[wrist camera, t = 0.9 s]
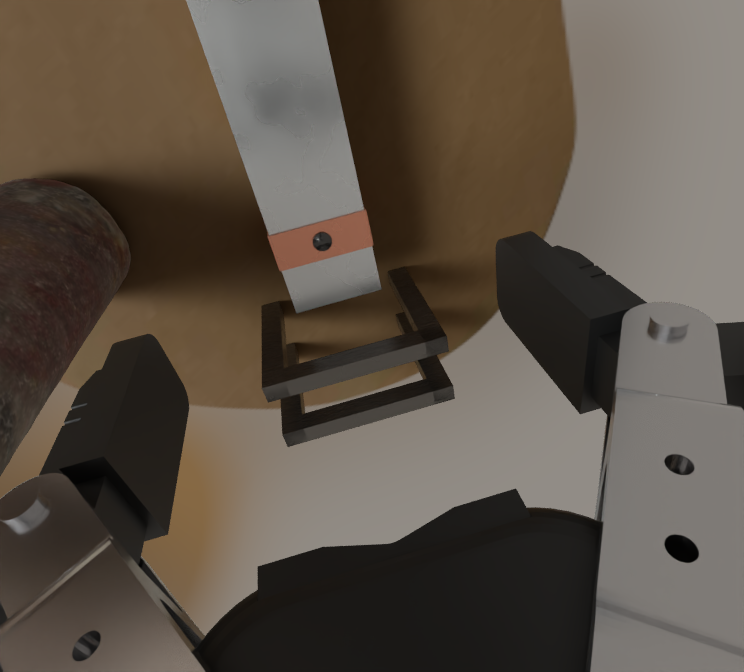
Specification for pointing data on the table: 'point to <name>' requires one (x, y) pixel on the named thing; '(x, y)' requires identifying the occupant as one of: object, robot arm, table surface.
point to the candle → (49, 291)
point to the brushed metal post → (292, 142)
